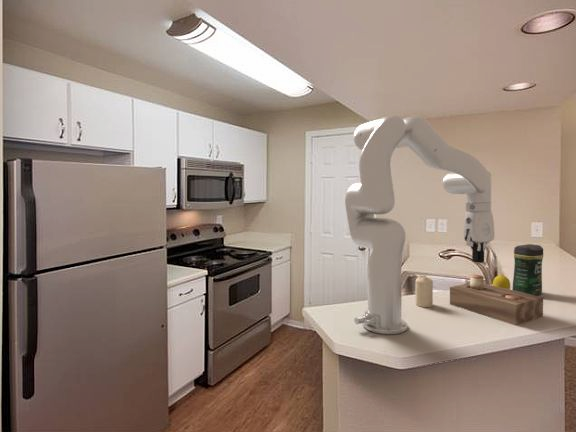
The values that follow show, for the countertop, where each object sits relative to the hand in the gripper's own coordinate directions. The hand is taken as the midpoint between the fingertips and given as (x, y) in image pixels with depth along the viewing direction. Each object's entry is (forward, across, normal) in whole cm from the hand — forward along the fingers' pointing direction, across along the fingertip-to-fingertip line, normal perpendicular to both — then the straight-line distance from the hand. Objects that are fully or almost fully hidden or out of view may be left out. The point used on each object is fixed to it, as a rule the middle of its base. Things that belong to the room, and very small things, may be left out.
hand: (478, 261), depth 118 cm
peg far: (+11, -1, 0) cm, 11 cm away
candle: (+15, -16, +9) cm, 23 cm away
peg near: (+15, -1, -12) cm, 19 cm away
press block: (+15, -1, -6) cm, 16 cm away
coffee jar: (+16, +27, -1) cm, 31 cm away
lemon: (+15, +16, +2) cm, 22 cm away
